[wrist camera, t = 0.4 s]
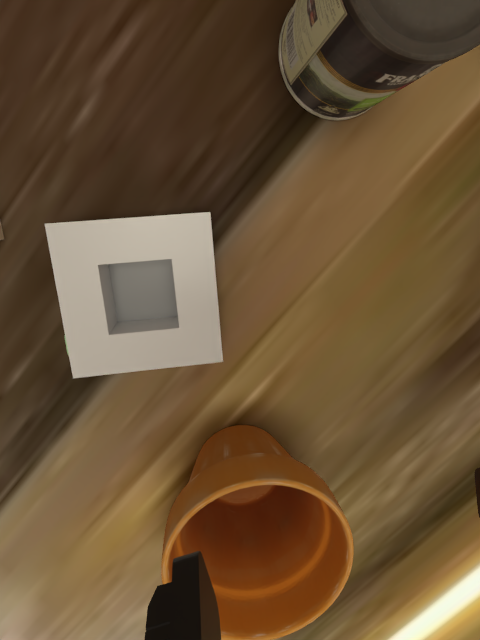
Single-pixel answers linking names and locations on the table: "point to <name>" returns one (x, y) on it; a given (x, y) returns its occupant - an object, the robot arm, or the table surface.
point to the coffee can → (369, 49)
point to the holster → (1, 232)
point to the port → (137, 292)
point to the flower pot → (260, 535)
